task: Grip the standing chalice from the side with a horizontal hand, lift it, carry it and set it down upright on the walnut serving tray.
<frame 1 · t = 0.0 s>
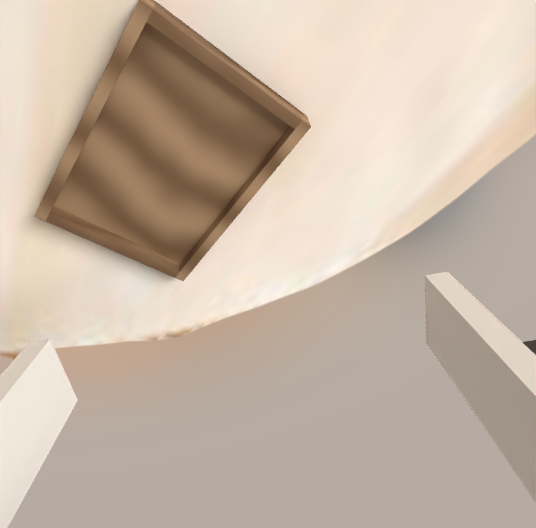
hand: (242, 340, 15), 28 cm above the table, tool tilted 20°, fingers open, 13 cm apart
tray: (168, 160, 40), on the table
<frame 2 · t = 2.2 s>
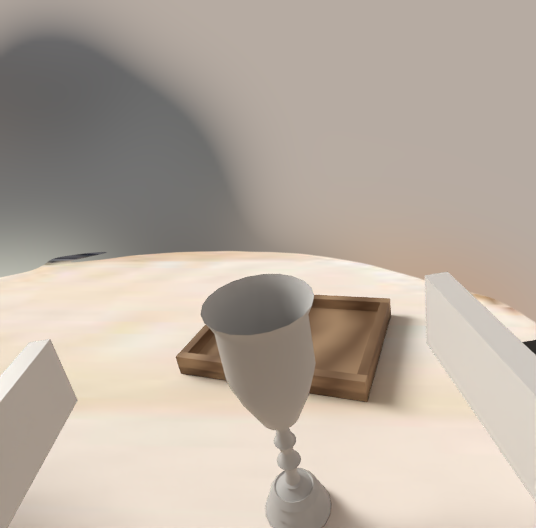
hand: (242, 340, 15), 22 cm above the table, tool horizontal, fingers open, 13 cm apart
chalice: (298, 506, 32), on the table
tray: (289, 342, 52), on the table
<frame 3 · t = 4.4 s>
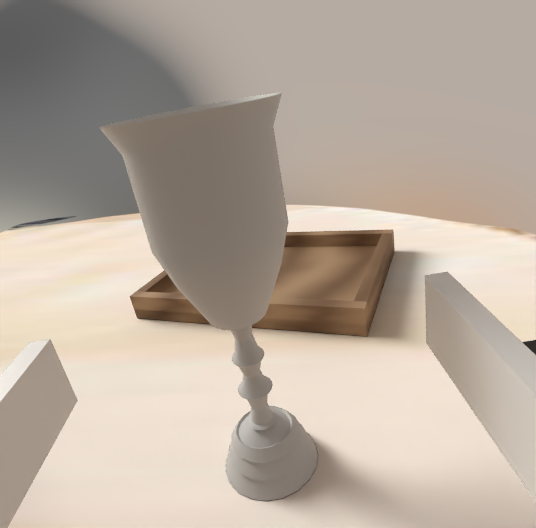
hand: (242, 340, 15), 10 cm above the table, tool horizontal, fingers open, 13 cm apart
chalice: (271, 460, 23), on the table
tray: (272, 282, 42), on the table
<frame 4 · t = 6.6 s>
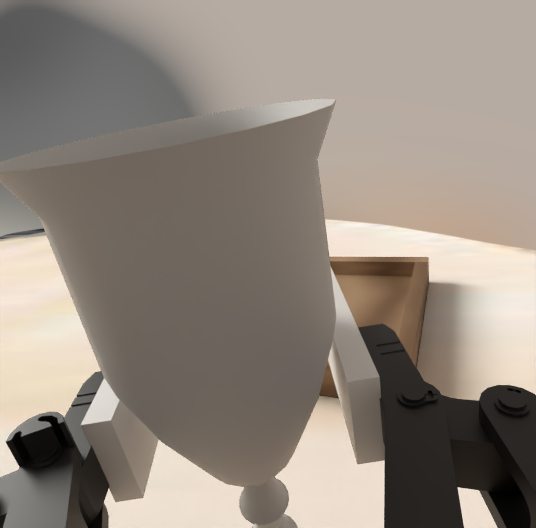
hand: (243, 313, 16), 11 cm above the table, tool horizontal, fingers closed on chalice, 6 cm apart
tray: (283, 321, 36), on the table
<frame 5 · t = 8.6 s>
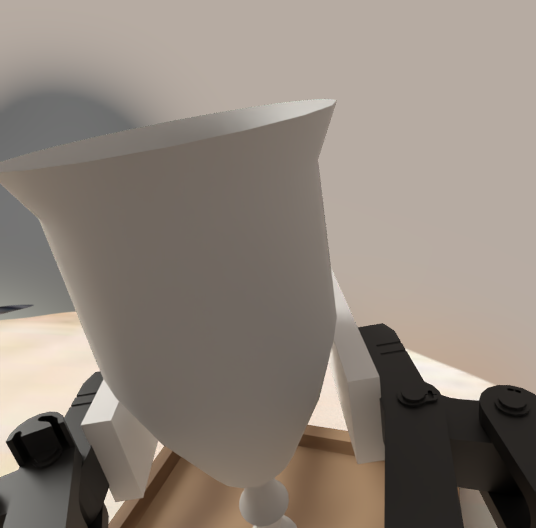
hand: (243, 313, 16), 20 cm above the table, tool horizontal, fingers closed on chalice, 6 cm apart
when the fingers open (13 cm above the table, at t = 10.8 s): chalice drops 1 cm, resting on tray.
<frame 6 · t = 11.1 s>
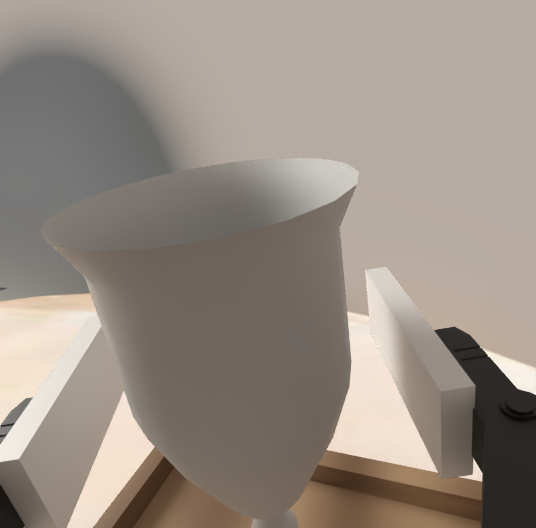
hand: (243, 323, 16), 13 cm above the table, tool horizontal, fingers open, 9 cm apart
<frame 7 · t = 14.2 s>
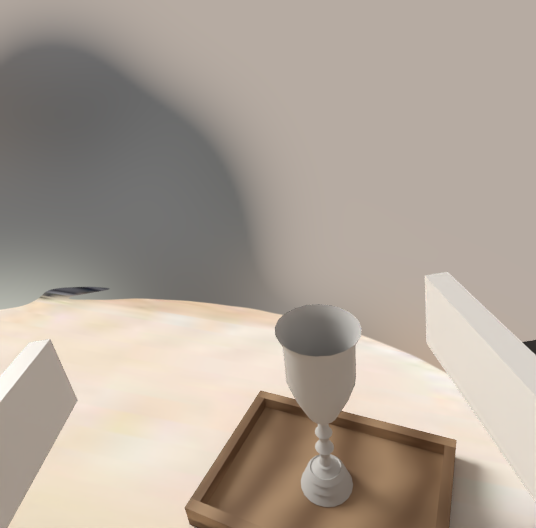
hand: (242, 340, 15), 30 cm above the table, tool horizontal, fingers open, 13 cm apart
chalice: (326, 483, 41), point 1 cm above the table, touching tray
tray: (327, 488, 41), on the table
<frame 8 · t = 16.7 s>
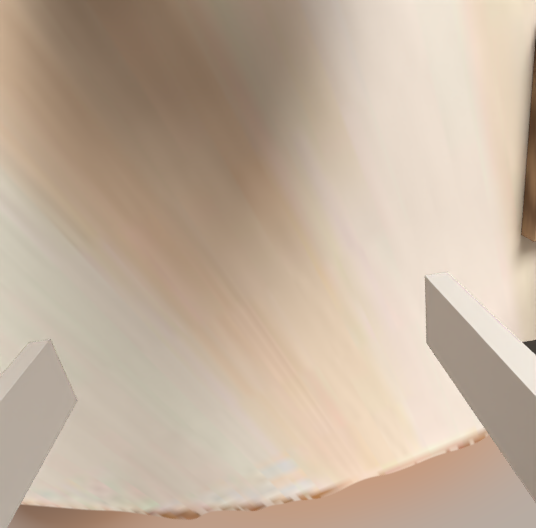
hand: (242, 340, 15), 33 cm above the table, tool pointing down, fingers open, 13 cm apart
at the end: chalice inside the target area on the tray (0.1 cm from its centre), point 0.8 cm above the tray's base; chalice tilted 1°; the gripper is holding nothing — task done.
